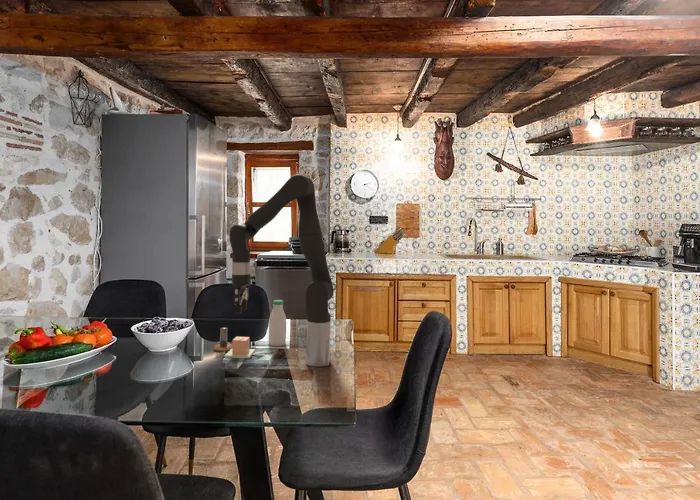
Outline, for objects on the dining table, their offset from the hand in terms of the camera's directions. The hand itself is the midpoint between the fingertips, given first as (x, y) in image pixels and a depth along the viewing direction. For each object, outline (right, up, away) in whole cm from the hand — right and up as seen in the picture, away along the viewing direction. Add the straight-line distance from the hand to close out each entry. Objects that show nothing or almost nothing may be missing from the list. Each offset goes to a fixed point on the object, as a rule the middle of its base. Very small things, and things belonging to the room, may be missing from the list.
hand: (241, 312), depth 179 cm
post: (-9, -17, +7) cm, 21 cm away
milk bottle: (+12, -17, +18) cm, 28 cm away
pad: (-1, -18, +1) cm, 18 cm away
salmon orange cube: (0, -17, +1) cm, 17 cm away
